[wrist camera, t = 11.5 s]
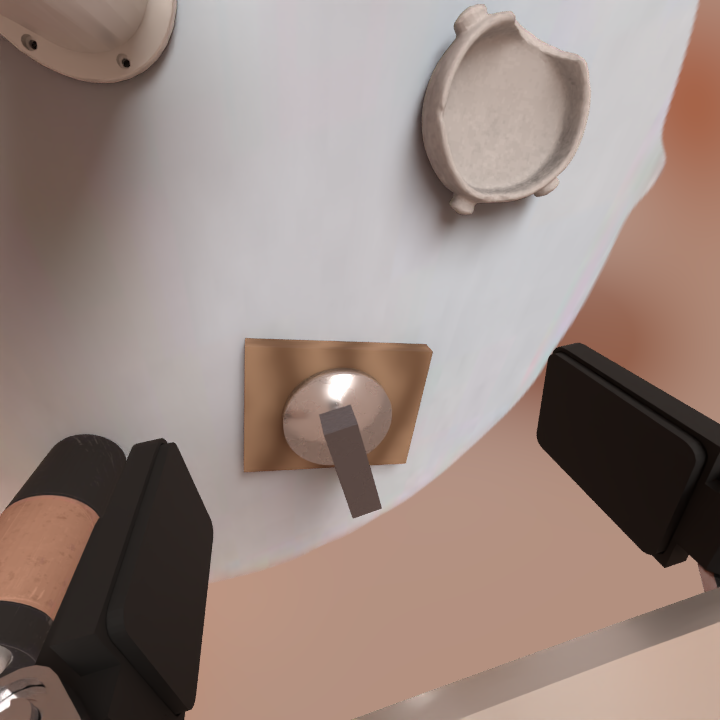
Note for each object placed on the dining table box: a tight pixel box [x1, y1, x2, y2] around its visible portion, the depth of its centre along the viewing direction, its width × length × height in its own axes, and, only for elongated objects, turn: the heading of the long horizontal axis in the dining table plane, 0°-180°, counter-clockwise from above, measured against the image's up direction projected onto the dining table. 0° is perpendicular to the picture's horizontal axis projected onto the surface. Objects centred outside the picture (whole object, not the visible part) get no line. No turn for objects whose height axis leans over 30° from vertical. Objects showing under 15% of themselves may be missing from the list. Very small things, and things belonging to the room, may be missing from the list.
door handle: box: [283, 368, 392, 518], centre depth 40 cm, size 14×12×10 cm
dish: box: [422, 4, 591, 215], centre depth 33 cm, size 14×14×5 cm
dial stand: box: [244, 338, 433, 472], centre depth 44 cm, size 20×16×2 cm
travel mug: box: [0, 434, 126, 678], centre depth 33 cm, size 8×8×20 cm
